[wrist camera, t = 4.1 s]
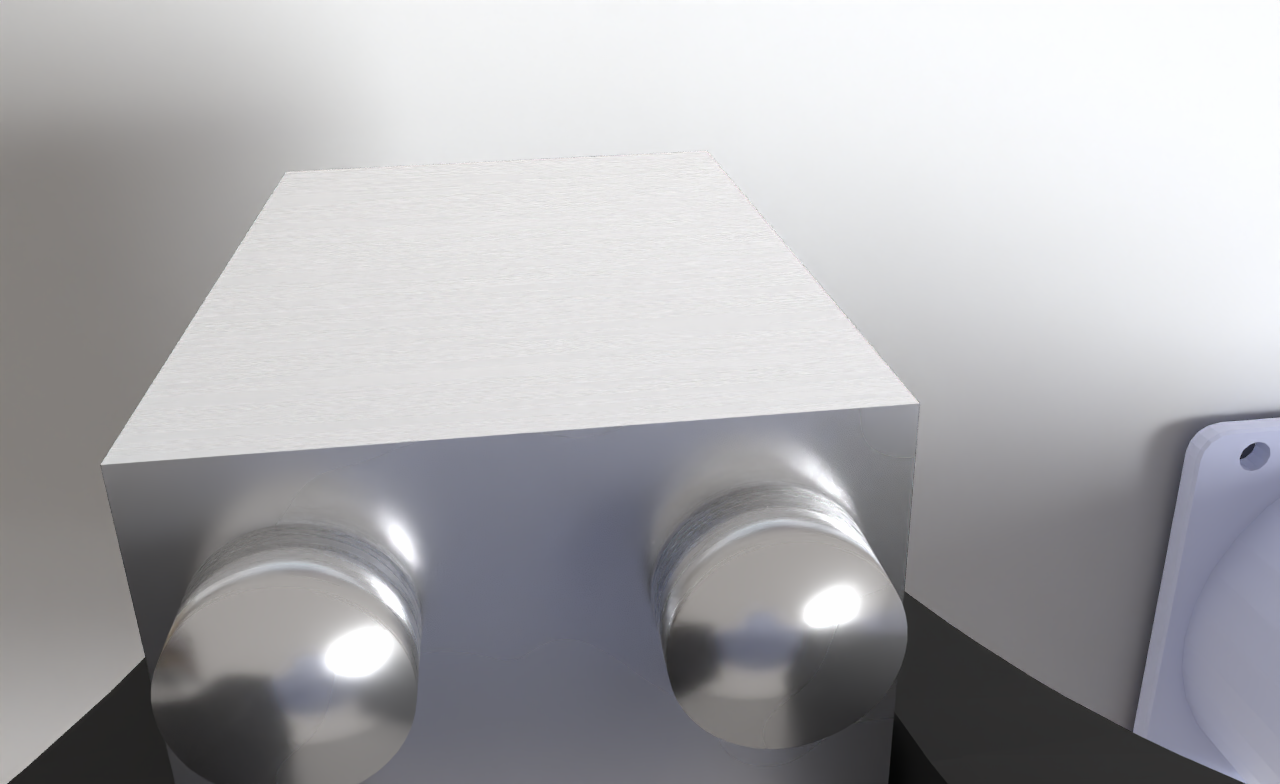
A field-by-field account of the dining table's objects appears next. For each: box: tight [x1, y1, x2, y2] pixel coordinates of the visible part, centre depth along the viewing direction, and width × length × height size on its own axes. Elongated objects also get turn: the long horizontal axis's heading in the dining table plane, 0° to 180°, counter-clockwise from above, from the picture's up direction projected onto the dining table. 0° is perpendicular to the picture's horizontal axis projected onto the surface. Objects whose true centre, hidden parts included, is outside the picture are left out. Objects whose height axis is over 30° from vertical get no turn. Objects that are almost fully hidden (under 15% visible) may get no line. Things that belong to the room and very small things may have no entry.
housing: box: [100, 151, 920, 784], centre depth 10 cm, size 4×8×7 cm, turn 2°
